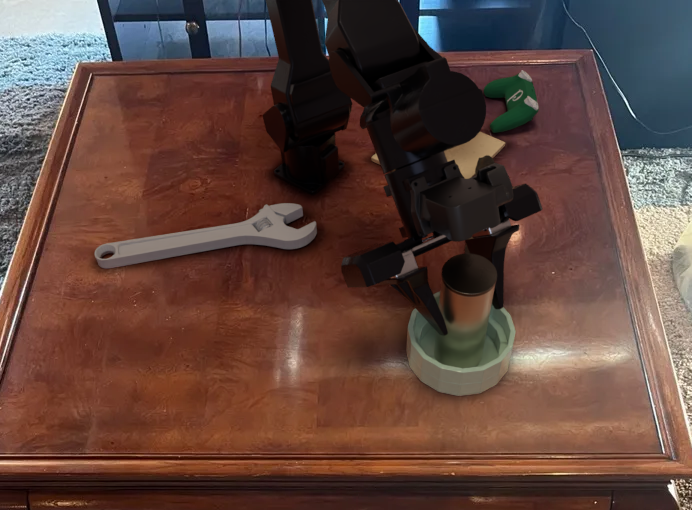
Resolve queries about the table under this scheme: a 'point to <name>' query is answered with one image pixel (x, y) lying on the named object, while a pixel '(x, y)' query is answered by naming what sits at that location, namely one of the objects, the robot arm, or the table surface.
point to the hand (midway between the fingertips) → (472, 321)
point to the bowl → (453, 377)
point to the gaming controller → (513, 101)
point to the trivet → (469, 153)
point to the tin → (465, 309)
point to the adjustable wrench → (214, 238)
